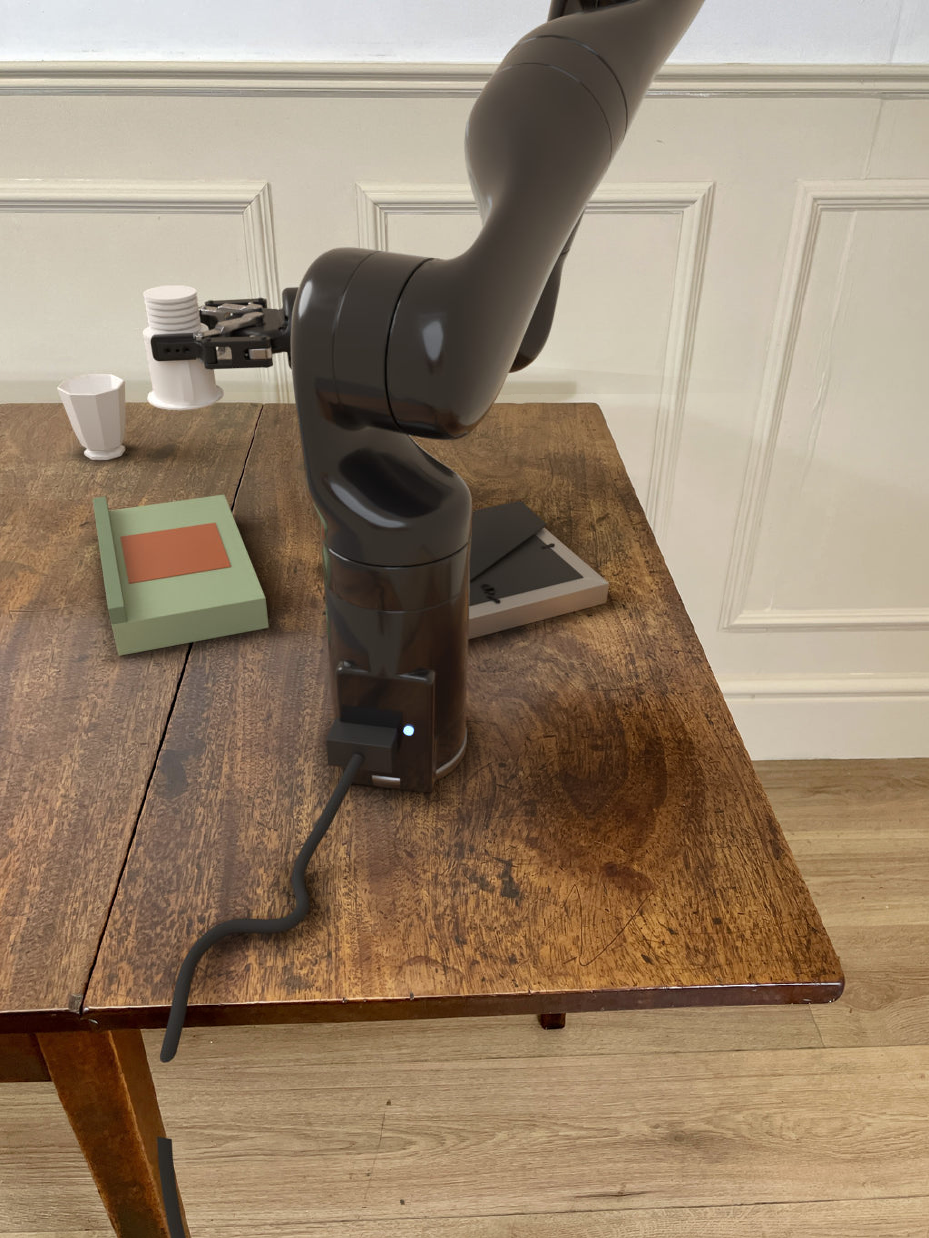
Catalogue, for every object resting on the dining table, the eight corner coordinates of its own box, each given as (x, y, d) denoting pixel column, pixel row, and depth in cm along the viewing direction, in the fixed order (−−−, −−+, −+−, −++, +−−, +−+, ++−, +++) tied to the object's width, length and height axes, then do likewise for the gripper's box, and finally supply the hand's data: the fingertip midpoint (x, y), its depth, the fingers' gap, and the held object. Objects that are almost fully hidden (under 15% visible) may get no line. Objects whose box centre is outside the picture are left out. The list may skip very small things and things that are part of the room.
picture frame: (519, 525, 95) (322, 568, 87) (521, 500, 93) (321, 541, 85) (606, 603, 83) (388, 660, 75) (609, 575, 81) (387, 631, 74)
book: (227, 521, 94) (222, 480, 91) (268, 627, 79) (263, 582, 76) (101, 540, 90) (92, 498, 88) (118, 656, 75) (107, 608, 72)
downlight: (144, 388, 92) (125, 283, 86) (217, 381, 94) (203, 277, 88) (152, 419, 86) (132, 307, 80) (230, 410, 88) (215, 301, 82)
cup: (75, 469, 103) (59, 398, 99) (67, 435, 111) (52, 368, 106) (141, 460, 105) (129, 390, 101) (129, 427, 113) (117, 361, 109)
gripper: (326, 268, 93) (153, 274, 90) (340, 308, 81) (141, 316, 79) (331, 343, 97) (165, 351, 94) (345, 392, 86) (156, 402, 83)
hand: (155, 335), depth 87 cm, fingers closed on downlight, 7 cm apart
